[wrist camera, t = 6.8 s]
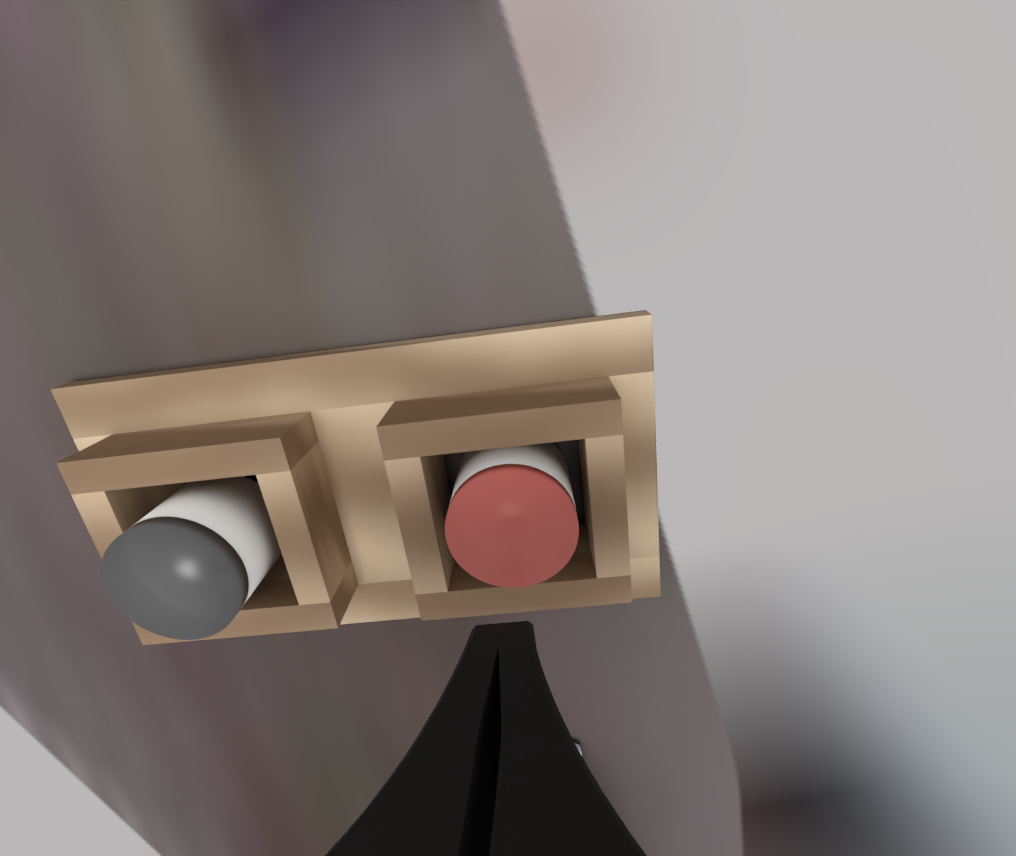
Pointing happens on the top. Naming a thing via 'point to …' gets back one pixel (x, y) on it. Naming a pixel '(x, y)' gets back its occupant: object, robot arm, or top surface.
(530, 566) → the plug red
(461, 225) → the top surface
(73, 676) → the top surface
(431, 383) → the socket panel
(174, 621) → the grey plug
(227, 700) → the top surface
